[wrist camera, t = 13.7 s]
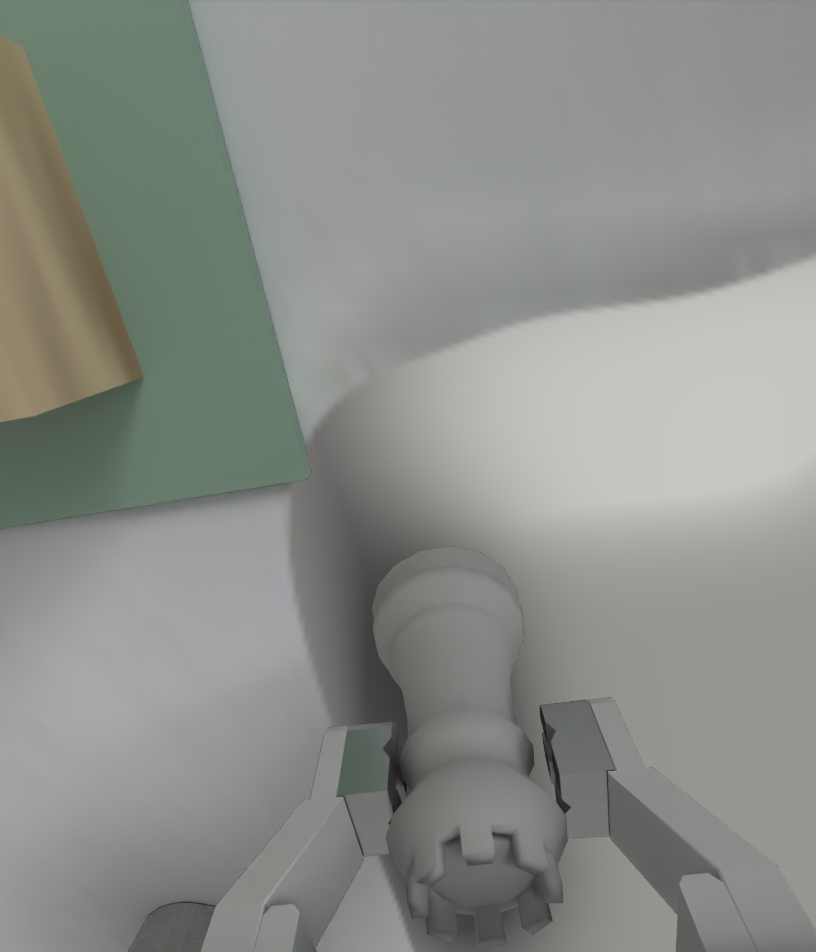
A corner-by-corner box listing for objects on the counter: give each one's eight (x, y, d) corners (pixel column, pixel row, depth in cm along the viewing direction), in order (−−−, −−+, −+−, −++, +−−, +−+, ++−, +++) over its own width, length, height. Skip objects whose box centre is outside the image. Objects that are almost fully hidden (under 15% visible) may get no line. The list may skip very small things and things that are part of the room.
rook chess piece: (437, 680, 17) (467, 1006, 9) (342, 597, 15) (288, 899, 8) (545, 604, 16) (678, 904, 8) (453, 509, 14) (510, 761, 7)
